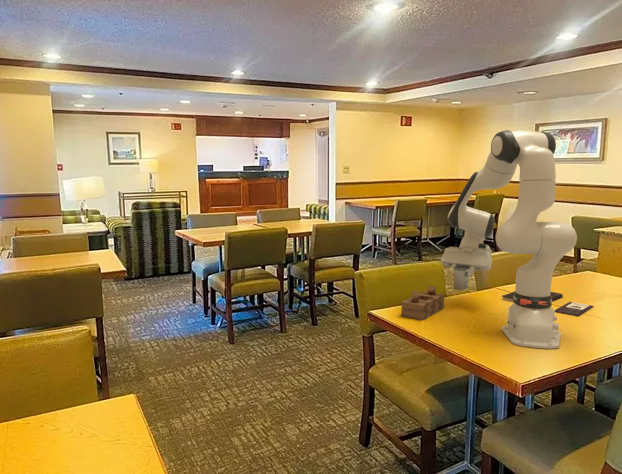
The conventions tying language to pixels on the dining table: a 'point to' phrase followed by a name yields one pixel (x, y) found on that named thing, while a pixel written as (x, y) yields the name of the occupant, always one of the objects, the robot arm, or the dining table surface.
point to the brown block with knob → (423, 304)
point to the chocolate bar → (573, 309)
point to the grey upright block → (460, 277)
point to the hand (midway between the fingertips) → (460, 275)
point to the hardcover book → (554, 295)
